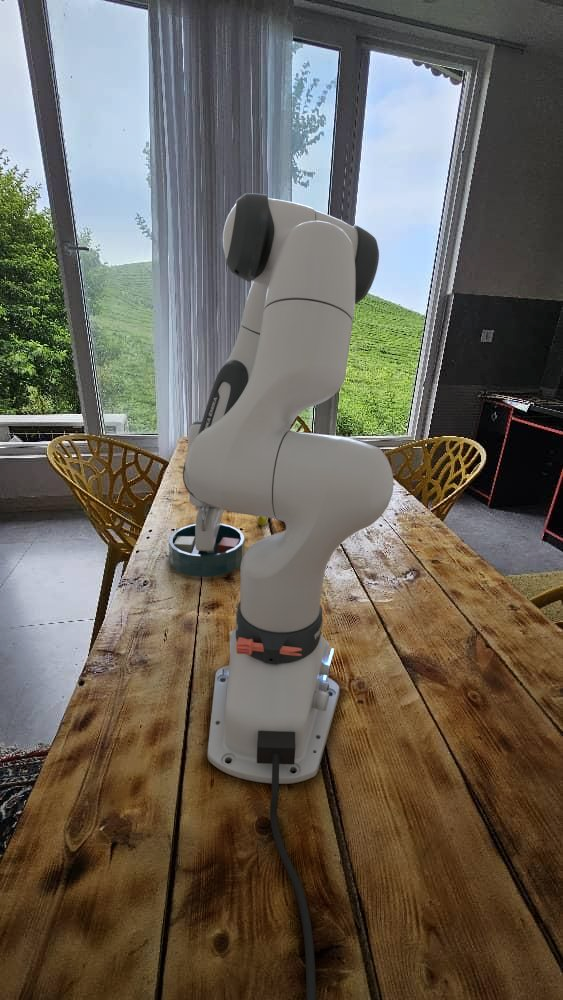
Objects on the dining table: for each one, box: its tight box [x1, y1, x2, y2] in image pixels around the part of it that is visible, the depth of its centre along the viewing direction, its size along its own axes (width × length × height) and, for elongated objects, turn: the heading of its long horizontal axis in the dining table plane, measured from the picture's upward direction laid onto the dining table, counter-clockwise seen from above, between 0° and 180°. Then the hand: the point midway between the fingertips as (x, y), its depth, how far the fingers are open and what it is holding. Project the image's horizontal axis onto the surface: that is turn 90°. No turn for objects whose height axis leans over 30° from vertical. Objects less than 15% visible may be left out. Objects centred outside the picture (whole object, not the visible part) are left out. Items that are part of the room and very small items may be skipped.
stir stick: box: [191, 545, 203, 555], centre depth 100 cm, size 12×2×3 cm, turn 0°
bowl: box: [168, 523, 246, 578], centre depth 101 cm, size 17×17×6 cm
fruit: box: [256, 516, 268, 527], centre depth 120 cm, size 10×2×5 cm, turn 173°
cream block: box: [174, 536, 195, 553], centre depth 101 cm, size 4×4×4 cm
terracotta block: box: [218, 537, 240, 553], centre depth 101 cm, size 4×4×4 cm
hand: (211, 549), depth 101 cm, fingers closed
